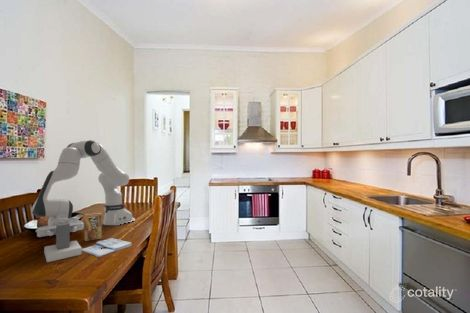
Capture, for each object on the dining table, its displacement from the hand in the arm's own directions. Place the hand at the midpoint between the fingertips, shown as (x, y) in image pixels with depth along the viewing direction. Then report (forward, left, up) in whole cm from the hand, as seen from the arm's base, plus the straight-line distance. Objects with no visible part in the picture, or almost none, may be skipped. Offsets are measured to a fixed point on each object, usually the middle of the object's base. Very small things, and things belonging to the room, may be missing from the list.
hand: (63, 232), depth 124 cm
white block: (0, -1, -11) cm, 12 cm away
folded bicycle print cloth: (-19, +4, -12) cm, 23 cm away
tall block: (0, -1, -8) cm, 8 cm away
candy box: (-17, -16, -12) cm, 26 cm away
